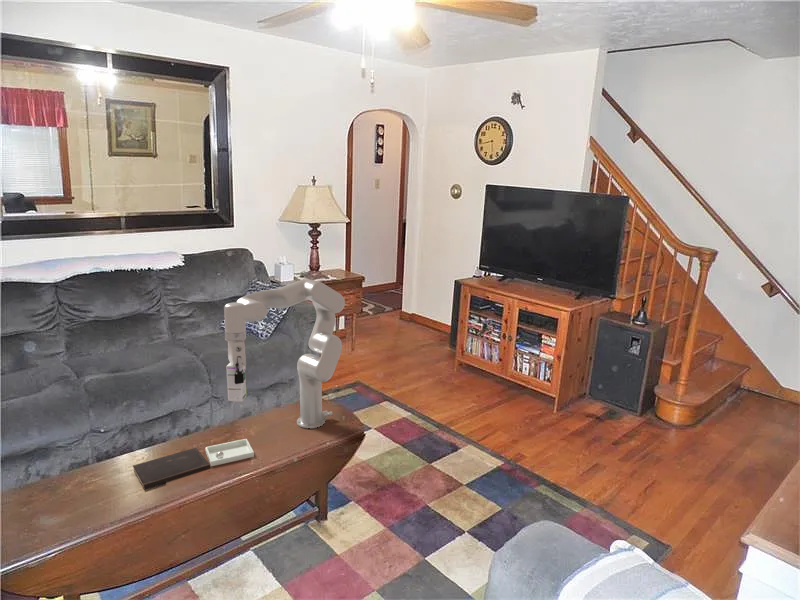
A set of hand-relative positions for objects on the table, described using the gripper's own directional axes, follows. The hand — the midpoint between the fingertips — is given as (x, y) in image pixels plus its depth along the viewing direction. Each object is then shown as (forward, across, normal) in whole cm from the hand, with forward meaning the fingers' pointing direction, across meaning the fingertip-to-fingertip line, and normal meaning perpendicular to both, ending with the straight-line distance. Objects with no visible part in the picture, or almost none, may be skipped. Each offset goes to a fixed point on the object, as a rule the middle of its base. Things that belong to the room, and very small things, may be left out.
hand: (236, 379), depth 206 cm
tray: (+31, -1, +4) cm, 31 cm away
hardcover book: (+32, -2, +25) cm, 40 cm away
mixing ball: (+30, -3, +8) cm, 31 cm away
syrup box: (+8, 0, 0) cm, 8 cm away
